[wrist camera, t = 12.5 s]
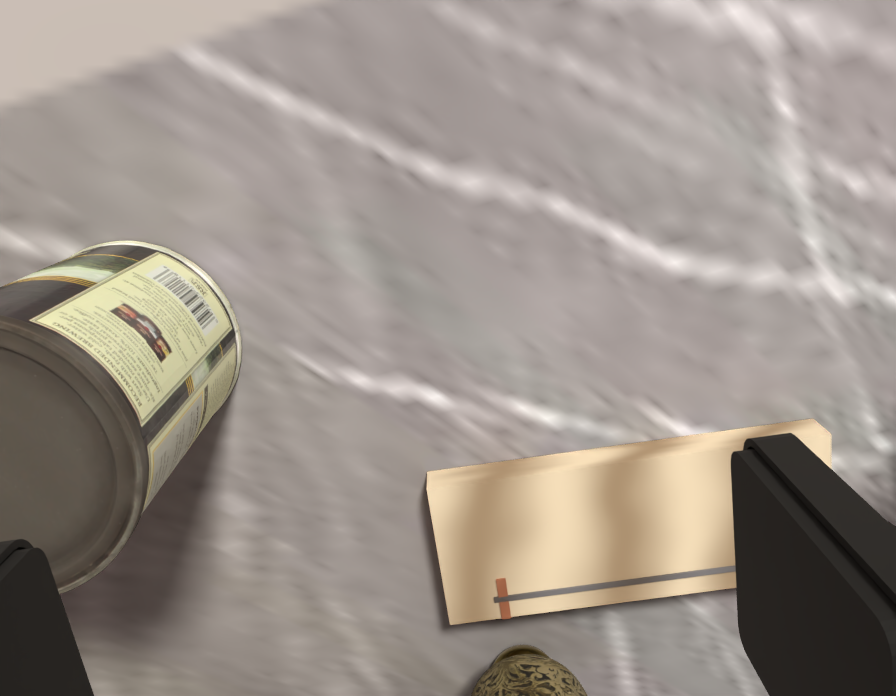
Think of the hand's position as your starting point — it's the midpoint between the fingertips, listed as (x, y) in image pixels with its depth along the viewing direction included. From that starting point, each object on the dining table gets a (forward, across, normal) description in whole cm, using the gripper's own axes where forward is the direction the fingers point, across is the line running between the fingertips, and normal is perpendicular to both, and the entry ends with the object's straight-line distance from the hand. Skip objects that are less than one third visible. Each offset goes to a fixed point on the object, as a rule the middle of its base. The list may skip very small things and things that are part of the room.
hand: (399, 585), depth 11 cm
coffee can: (+28, +15, +3) cm, 32 cm away
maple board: (+28, -8, +16) cm, 33 cm away
